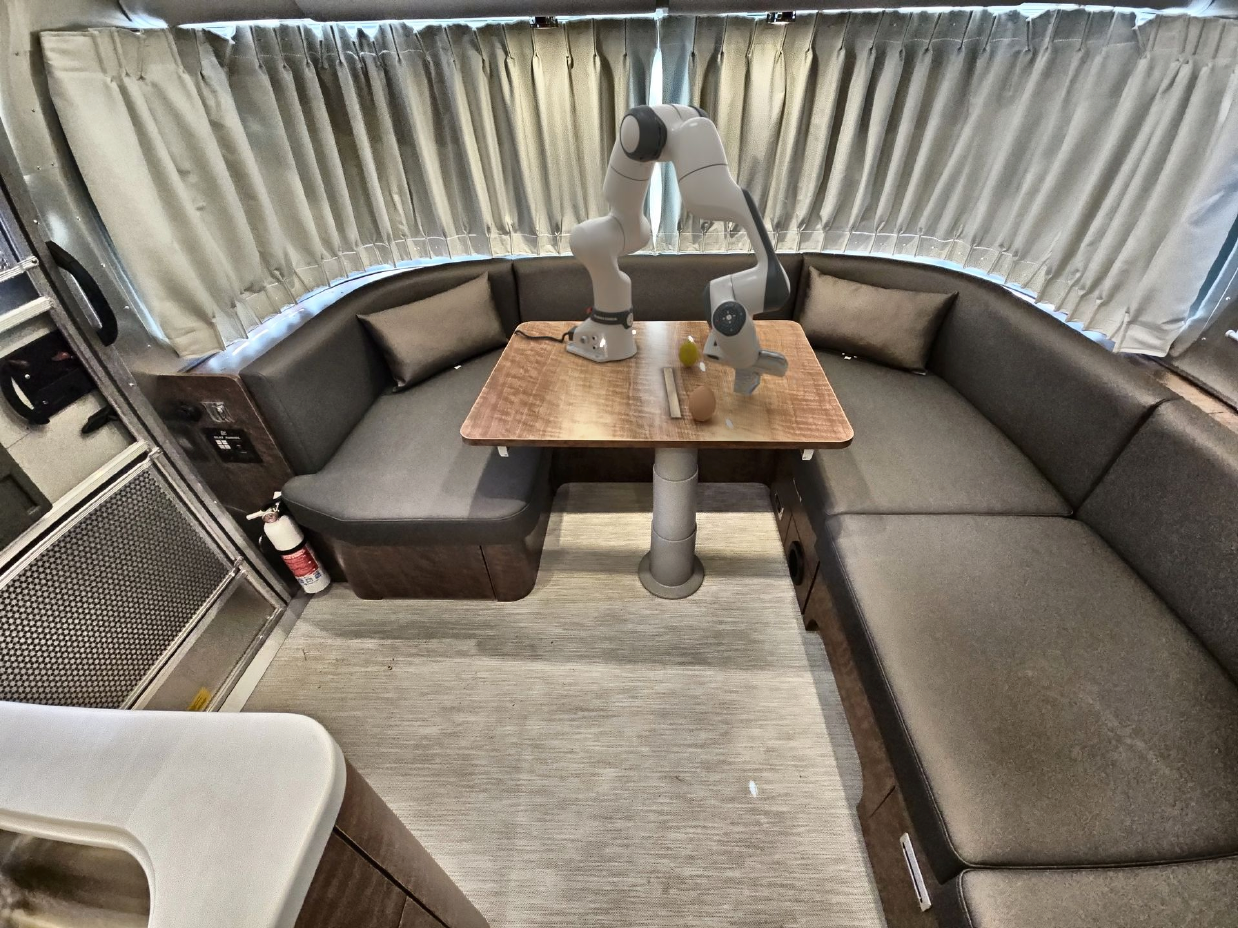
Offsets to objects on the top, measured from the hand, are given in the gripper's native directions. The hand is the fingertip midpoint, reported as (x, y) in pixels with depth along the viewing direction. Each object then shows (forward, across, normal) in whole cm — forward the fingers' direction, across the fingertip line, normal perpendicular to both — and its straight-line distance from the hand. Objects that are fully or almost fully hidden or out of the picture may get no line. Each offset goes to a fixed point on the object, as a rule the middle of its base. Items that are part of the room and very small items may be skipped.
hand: (749, 370), depth 136 cm
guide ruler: (+1, +18, +10) cm, 21 cm away
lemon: (+12, +21, -1) cm, 24 cm away
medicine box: (+3, 0, +4) cm, 5 cm away
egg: (-6, +6, +17) cm, 19 cm away
